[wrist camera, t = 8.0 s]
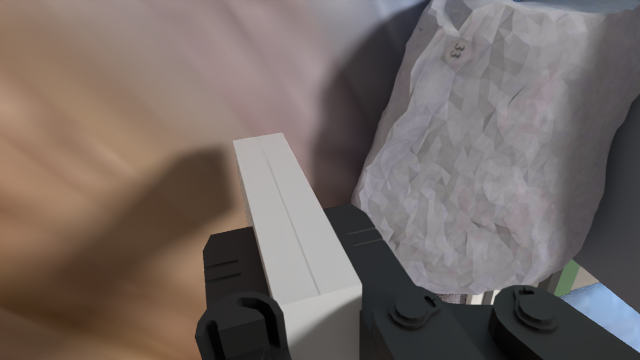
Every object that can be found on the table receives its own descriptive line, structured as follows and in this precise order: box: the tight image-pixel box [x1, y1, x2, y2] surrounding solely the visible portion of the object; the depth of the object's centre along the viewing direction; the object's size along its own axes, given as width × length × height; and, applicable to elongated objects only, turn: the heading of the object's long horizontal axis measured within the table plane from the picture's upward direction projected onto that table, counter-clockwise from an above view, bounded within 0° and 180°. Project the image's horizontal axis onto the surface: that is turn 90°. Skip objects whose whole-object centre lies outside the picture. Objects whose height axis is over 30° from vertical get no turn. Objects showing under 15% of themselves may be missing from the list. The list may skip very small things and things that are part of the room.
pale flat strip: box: [466, 259, 600, 305], centre depth 23 cm, size 3×10×1 cm, turn 93°
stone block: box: [350, 0, 640, 295], centre depth 16 cm, size 12×5×10 cm
